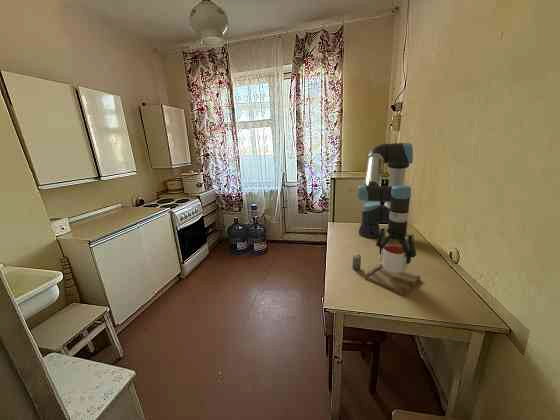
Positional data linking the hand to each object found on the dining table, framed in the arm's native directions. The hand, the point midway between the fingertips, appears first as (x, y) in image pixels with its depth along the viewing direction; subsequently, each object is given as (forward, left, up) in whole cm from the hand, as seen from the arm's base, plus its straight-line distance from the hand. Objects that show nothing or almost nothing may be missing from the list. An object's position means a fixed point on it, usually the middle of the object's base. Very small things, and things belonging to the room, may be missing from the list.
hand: (393, 264), depth 107 cm
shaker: (+4, -17, -8) cm, 19 cm away
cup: (0, 0, -2) cm, 2 cm away
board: (0, 0, -8) cm, 8 cm away
